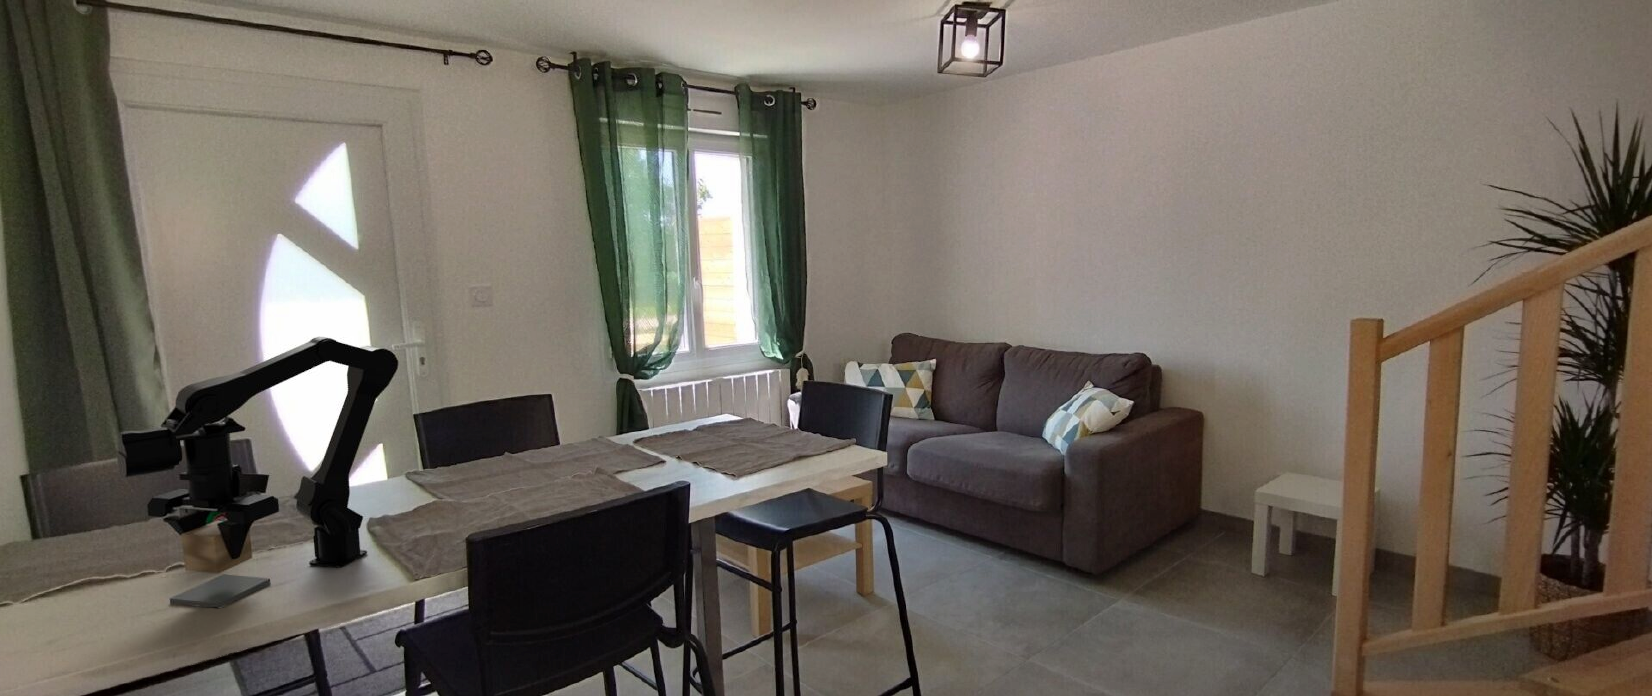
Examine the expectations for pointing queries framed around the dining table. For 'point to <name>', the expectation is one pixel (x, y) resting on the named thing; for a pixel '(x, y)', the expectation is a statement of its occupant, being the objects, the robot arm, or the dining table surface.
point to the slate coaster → (220, 591)
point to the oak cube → (210, 550)
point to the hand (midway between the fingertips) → (219, 556)
